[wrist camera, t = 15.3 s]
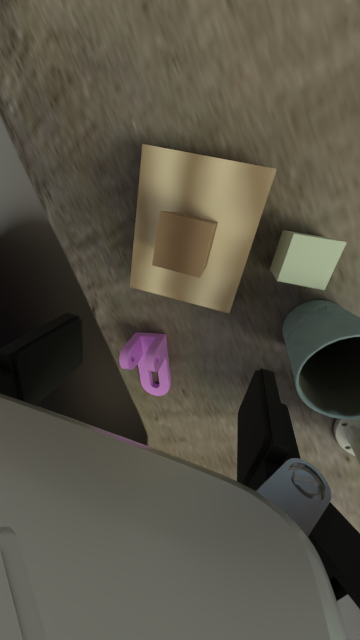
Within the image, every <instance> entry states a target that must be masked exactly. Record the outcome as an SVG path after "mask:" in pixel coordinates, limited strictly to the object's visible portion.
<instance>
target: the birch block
mask: <svg viewBox="0 0 360 640" xmlns="http://www.w3.org/2000/svg"><path fill="white" fill-rule="evenodd" d="M276 170H277V169H274V168H268V167H263V166H258V165H252V164H247V163H242V162H236V161H231V160H226V159H220V158H215V157H210V156H204V155H199V154H194V153H188V152H183V151H178V150H172V149H167V148H162V147H156V146H151V145H146V144H142V154H141V165H140V177H139V188H138V199H137V210H136V221H135V232H134V244H133V255H132V266H131V277H130V287H132V288H136V289H140V290H143V291H147V292H151V293H154V294H158V295H162V296H166V297H169V298H173V299H177V300H181V301H184V302H188V303H192V304H196V305H199V306H203V307H207V308H211V309H214V310H218V311H222V312H226V313H230V310H231V307H232V304H233V301H234V298H235V295H236V292H237V289H238V286H239V283H240V280H241V277H242V273H243V270H244V267H245V264H246V261H247V258H248V255H249V252H250V249H251V246H252V243H253V240H254V237H255V234H256V231H257V228H258V225H259V222H260V218H261V215H262V212H263V209H264V206H265V203H266V200H267V197H268V194H269V191H270V188H271V185H272V182H273V179H274V176H275V173H276ZM160 211H169V212H178V213H182V214H187V215H191V216H195V217H199V218H203V219H207V220H212V221H216V222H218V225H217V229H216V232H215V236H214V240H213V244H212V248H211V251H210V255H209V259H208V263H207V266H206V268H205V270H204V272H203V273H202V275H201V277H200V278H198V277H194V276H190V275H187V274H183V273H179V272H175V271H172V270H168V269H164V268H161V267H157V266H153V265H152V261H153V255H154V248H155V241H156V234H157V228H158V221H159V214H160Z"/></svg>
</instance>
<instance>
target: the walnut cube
mask: <svg viewBox="0 0 360 640" xmlns="http://www.w3.org/2000/svg"><path fill="white" fill-rule="evenodd" d="M217 225H218V222H216V221H212V220H207V219H203V218H199V217H195V216H191V215H187V214H182V213H178V212H169V211H160V214H159V221H158V228H157V234H156V241H155V248H154V255H153V261H152V265H153V266H157V267H161V268H164V269H168V270H172V271H175V272H179V273H183V274H187V275H190V276H194V277H198V278H200V277H201V275H202V273H203V272H204V270H205V268H206V266H207V263H208V259H209V255H210V251H211V248H212V244H213V240H214V236H215V232H216V229H217Z"/></svg>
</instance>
